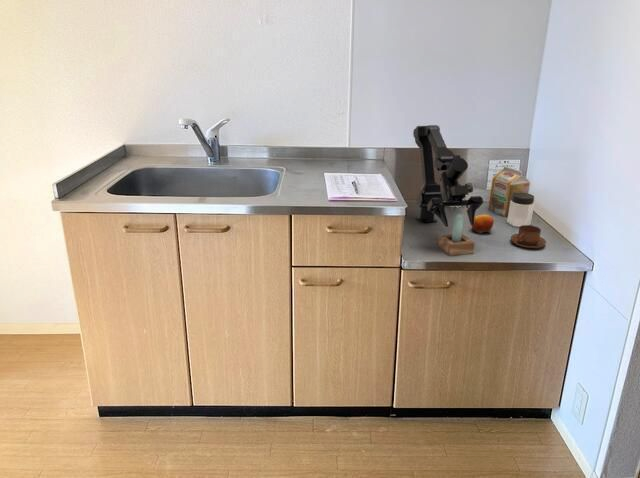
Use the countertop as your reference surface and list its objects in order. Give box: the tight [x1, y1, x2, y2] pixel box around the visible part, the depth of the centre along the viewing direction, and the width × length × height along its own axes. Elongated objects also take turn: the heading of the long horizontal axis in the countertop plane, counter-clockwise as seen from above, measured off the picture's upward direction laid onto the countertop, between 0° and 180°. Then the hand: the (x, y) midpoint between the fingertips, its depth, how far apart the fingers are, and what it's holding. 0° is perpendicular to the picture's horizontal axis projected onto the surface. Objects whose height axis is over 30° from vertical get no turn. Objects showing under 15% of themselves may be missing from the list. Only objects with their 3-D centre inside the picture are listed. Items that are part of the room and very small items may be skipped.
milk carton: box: [487, 165, 531, 218], centre depth 210 cm, size 11×11×19 cm
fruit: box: [471, 214, 495, 234], centre depth 191 cm, size 8×8×8 cm
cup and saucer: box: [510, 225, 547, 249], centre depth 180 cm, size 12×12×6 cm
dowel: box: [451, 212, 465, 242], centre depth 174 cm, size 3×3×14 cm
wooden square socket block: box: [437, 233, 476, 257], centre depth 175 cm, size 9×9×4 cm
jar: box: [506, 192, 535, 228], centre depth 198 cm, size 9×8×12 cm
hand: (459, 225), depth 171 cm, fingers open, 9 cm apart
